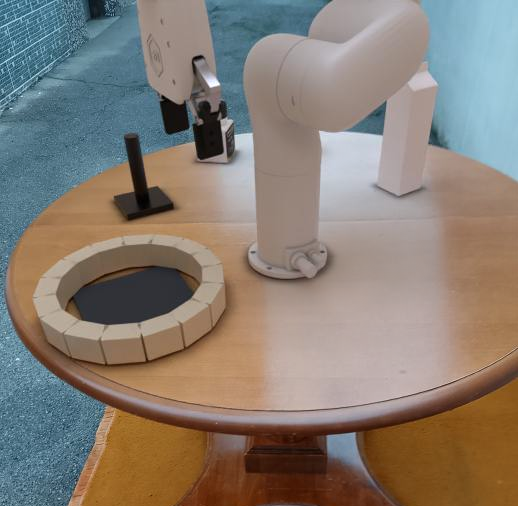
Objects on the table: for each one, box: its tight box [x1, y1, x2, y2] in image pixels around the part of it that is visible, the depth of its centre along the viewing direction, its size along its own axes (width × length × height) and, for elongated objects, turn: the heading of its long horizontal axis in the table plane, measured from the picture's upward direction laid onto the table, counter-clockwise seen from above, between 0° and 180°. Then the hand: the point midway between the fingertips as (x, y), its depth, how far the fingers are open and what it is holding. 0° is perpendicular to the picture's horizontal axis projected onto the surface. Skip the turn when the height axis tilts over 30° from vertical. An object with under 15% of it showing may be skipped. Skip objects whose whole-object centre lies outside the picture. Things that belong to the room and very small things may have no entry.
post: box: [113, 132, 175, 221], centre depth 98 cm, size 9×9×13 cm
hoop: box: [32, 233, 227, 365], centre depth 76 cm, size 26×26×4 cm
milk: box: [376, 61, 439, 197], centre depth 98 cm, size 6×6×22 cm
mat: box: [72, 266, 195, 325], centre depth 78 cm, size 16×16×1 cm
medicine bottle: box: [196, 98, 236, 164], centre depth 116 cm, size 7×7×12 cm
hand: (193, 143), depth 65 cm, fingers open, 9 cm apart
